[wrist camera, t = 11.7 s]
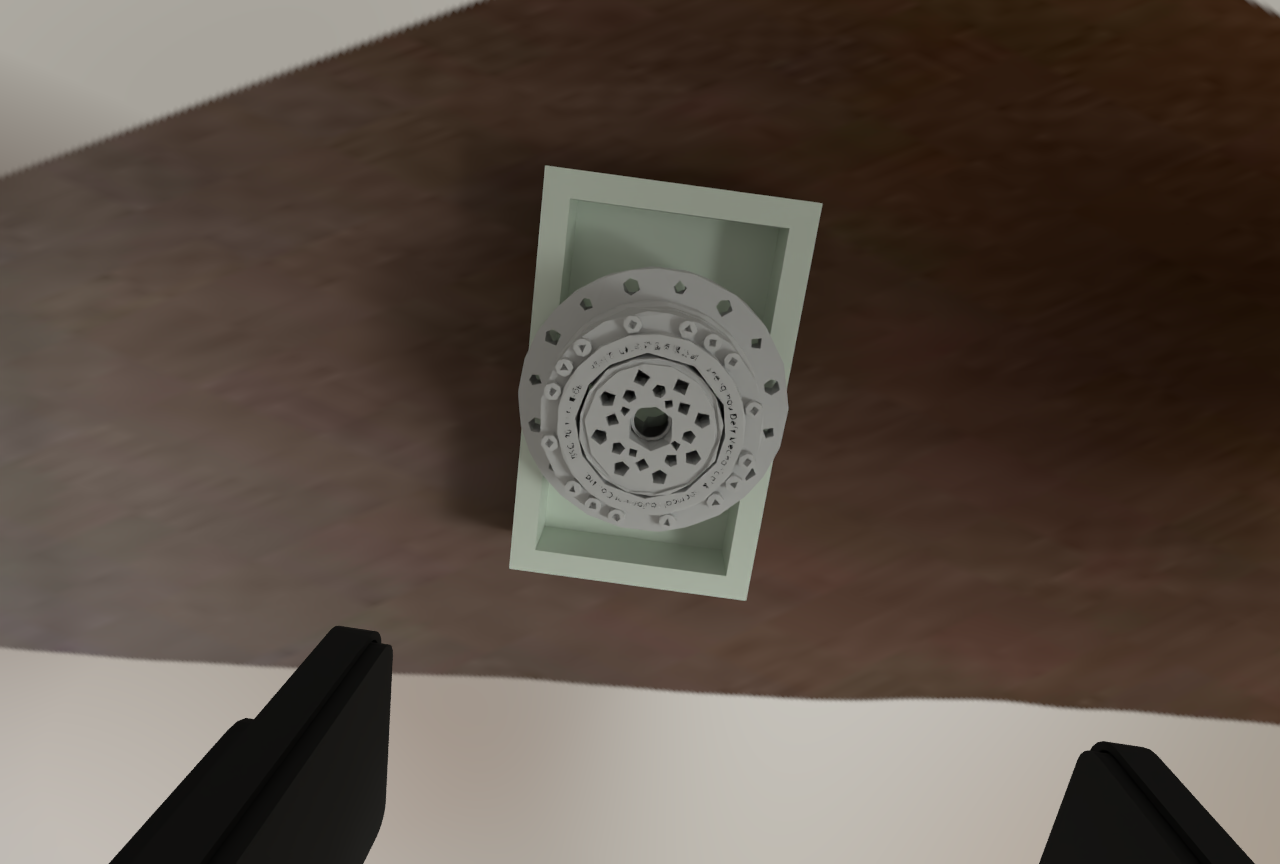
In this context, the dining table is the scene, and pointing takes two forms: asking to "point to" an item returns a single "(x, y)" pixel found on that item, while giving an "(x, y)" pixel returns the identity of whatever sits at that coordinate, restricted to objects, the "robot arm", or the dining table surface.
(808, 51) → the dining table surface
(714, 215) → the tray
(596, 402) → the mechanical component
